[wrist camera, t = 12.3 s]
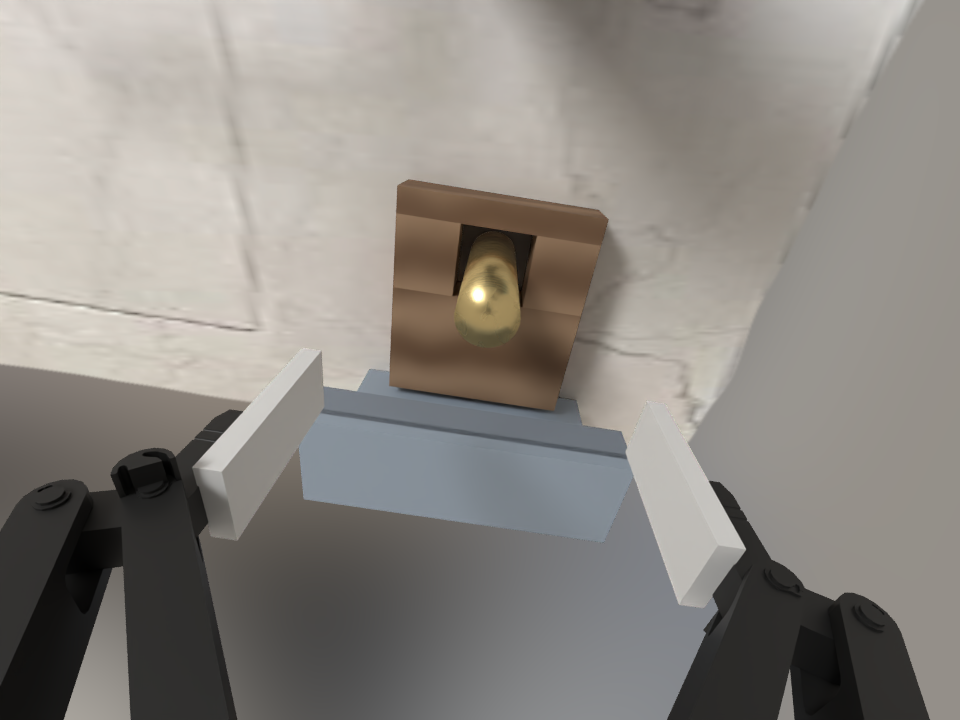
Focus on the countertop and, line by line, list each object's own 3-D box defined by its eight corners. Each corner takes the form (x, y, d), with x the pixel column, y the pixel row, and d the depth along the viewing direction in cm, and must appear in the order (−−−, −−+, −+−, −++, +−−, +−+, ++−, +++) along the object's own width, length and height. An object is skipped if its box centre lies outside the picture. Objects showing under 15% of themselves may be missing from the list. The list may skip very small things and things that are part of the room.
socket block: (408, 179, 35) (397, 185, 31) (598, 210, 35) (608, 219, 32) (398, 365, 44) (389, 386, 40) (550, 388, 44) (554, 411, 40)
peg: (521, 266, 38) (530, 334, 26) (481, 282, 39) (470, 356, 27) (505, 223, 36) (505, 276, 24) (463, 242, 37) (442, 301, 25)
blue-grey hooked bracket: (370, 316, 41) (296, 420, 27) (591, 351, 42) (635, 470, 27) (369, 378, 45) (303, 499, 30) (573, 409, 45) (603, 542, 31)
